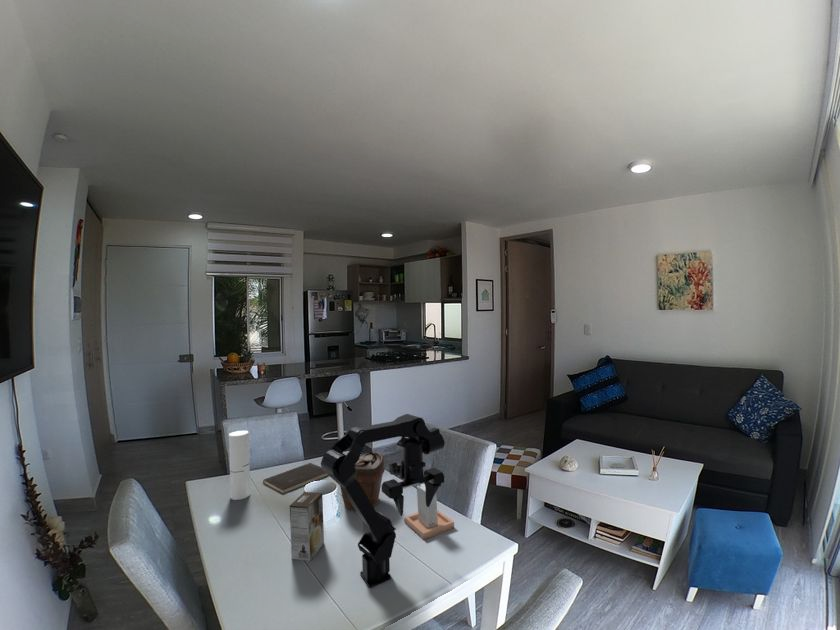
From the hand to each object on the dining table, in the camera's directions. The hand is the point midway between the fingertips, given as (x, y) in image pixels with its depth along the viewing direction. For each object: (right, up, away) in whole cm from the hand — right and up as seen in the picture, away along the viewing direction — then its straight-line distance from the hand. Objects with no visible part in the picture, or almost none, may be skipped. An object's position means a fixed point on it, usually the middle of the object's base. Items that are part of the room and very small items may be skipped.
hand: (414, 511), depth 115 cm
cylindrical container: (-70, -15, +41) cm, 83 cm away
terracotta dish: (+5, -13, +16) cm, 21 cm away
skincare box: (+4, -12, +16) cm, 20 cm away
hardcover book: (-52, -15, +56) cm, 78 cm away
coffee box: (-32, -14, +3) cm, 35 cm away
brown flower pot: (-20, -13, +33) cm, 41 cm away
